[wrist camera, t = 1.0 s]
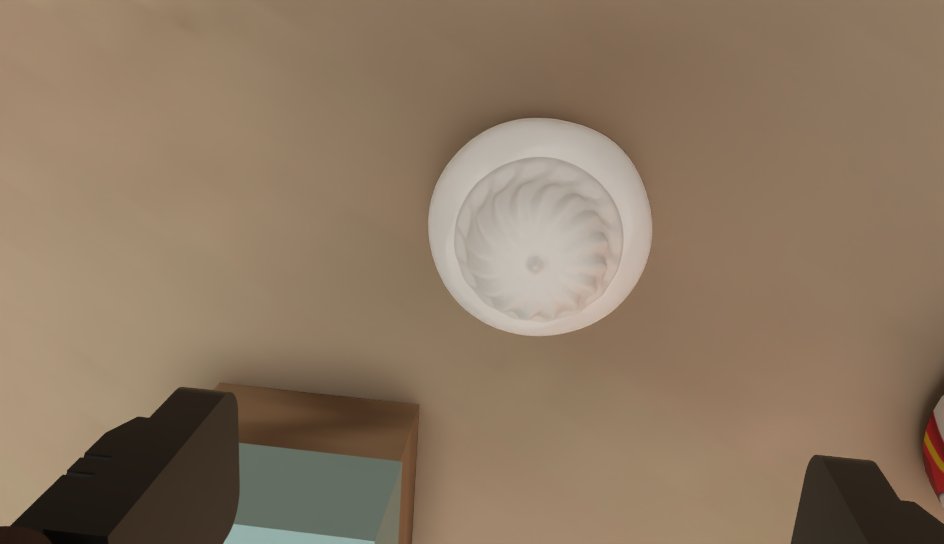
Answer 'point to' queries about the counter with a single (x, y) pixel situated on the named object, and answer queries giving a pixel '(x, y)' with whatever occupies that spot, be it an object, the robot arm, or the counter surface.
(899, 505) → the robot arm
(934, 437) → the soda can
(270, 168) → the counter surface
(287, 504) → the tower top
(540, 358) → the counter surface
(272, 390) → the tower bottom
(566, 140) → the white rounded piece
